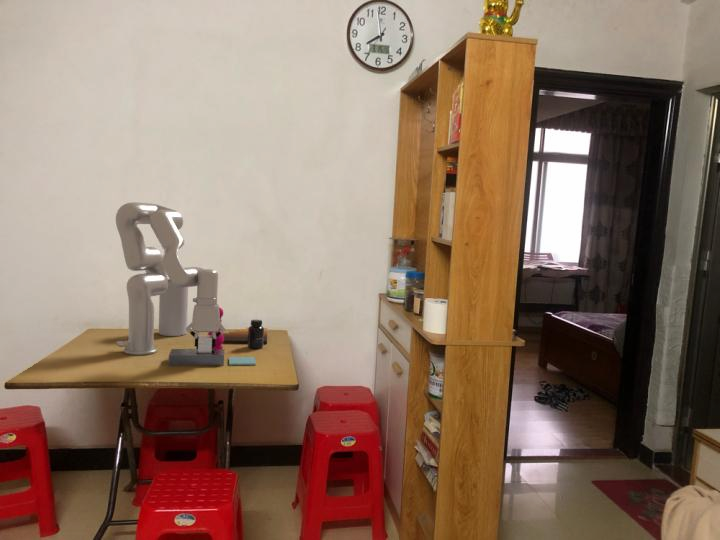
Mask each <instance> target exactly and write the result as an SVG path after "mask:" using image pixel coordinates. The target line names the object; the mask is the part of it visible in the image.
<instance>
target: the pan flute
mask: <svg viewBox="0 0 720 540" xmlns="http://www.w3.org/2000/svg"><path fill="white" fill-rule="evenodd" d="M248 328H249V327H246V328H240V330H237V329H235V330H234V331H228V333H226V332H223V333H222V334H223V336H224V342H223V343H222V344H224V343H226V344H227V345H228V344H230V345H231V344H236V345H238V344H239V345H240V344H241V345H247V343H248ZM263 328H264V340H263V345H268V328H267V327H263Z"/></svg>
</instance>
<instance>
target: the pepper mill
mask: <svg viewBox="0 0 720 540" xmlns="http://www.w3.org/2000/svg"><path fill="white" fill-rule="evenodd" d="M217 305H218V306H219V303H217ZM219 312H220V323H221V324H222V322H223V316H224V310H223V309H222V307H220V306H219ZM220 330H221V329H220V327H219V330H218V331H220ZM218 331H217V332H218ZM217 332H216V333H217ZM207 335H212V332H207ZM212 338H213V335H212ZM223 342H224V336H223V333H221V334H220V335H219V336H218V337H217V338H216V346H215V347H214V348H213V349H224V348H223V347H224V346H223V345H222V344H224V343H223Z"/></svg>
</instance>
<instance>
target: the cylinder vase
mask: <svg viewBox="0 0 720 540" xmlns="http://www.w3.org/2000/svg"><path fill="white" fill-rule="evenodd" d="M167 279H168V288H167V290H166V292H165V293H163V294H161V295H158V298H159V307H158V308H159V309H158V334H159V335H160V336H165V337H181V335H182V336H184V335H186V334H187V333H188V331H186V328H187V327H188V308H189V307H188V301H189V299H188V298H189V297H188V296H189V287H186V288H179V287H176V286H175V285H174V284H173V283H172V282H171V280H170V279H169V278H167Z"/></svg>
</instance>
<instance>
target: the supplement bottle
mask: <svg viewBox="0 0 720 540" xmlns="http://www.w3.org/2000/svg"><path fill="white" fill-rule="evenodd" d="M247 328H248V343H247V344H246V345H247V346H246V347H247V349H251V350H260V349H263V348H264V344H263V340H264V328H265V327H263V320H262V319H251V320H250V326H248V327H247Z"/></svg>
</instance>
